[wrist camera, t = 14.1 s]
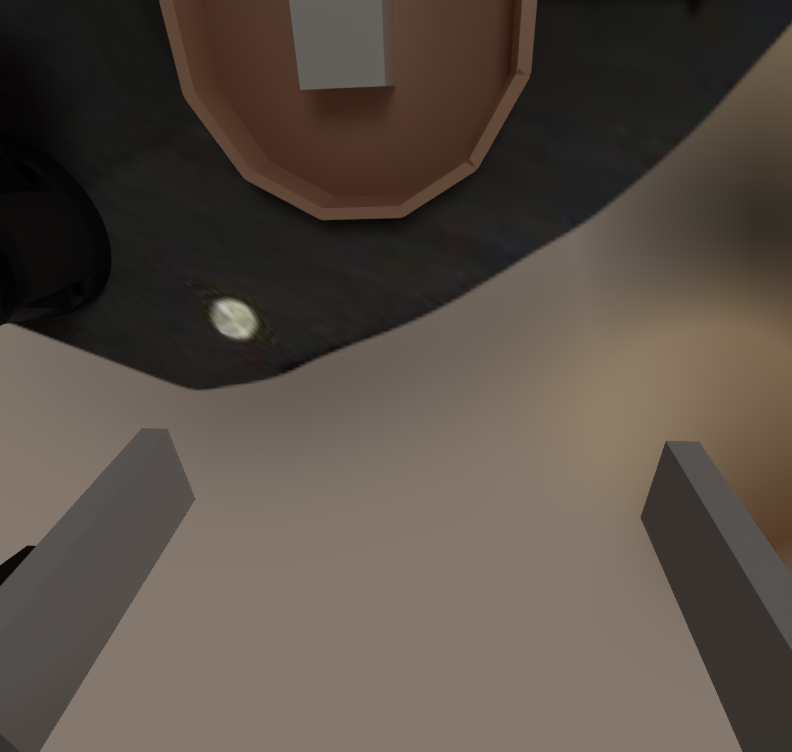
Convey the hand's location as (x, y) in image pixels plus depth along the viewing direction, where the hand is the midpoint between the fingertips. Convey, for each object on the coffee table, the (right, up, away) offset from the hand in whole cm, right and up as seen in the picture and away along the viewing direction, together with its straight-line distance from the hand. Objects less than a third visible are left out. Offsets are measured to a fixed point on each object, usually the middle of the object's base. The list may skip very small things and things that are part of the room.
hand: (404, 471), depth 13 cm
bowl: (-3, +25, +18) cm, 32 cm away
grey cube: (-3, +25, +18) cm, 31 cm away
